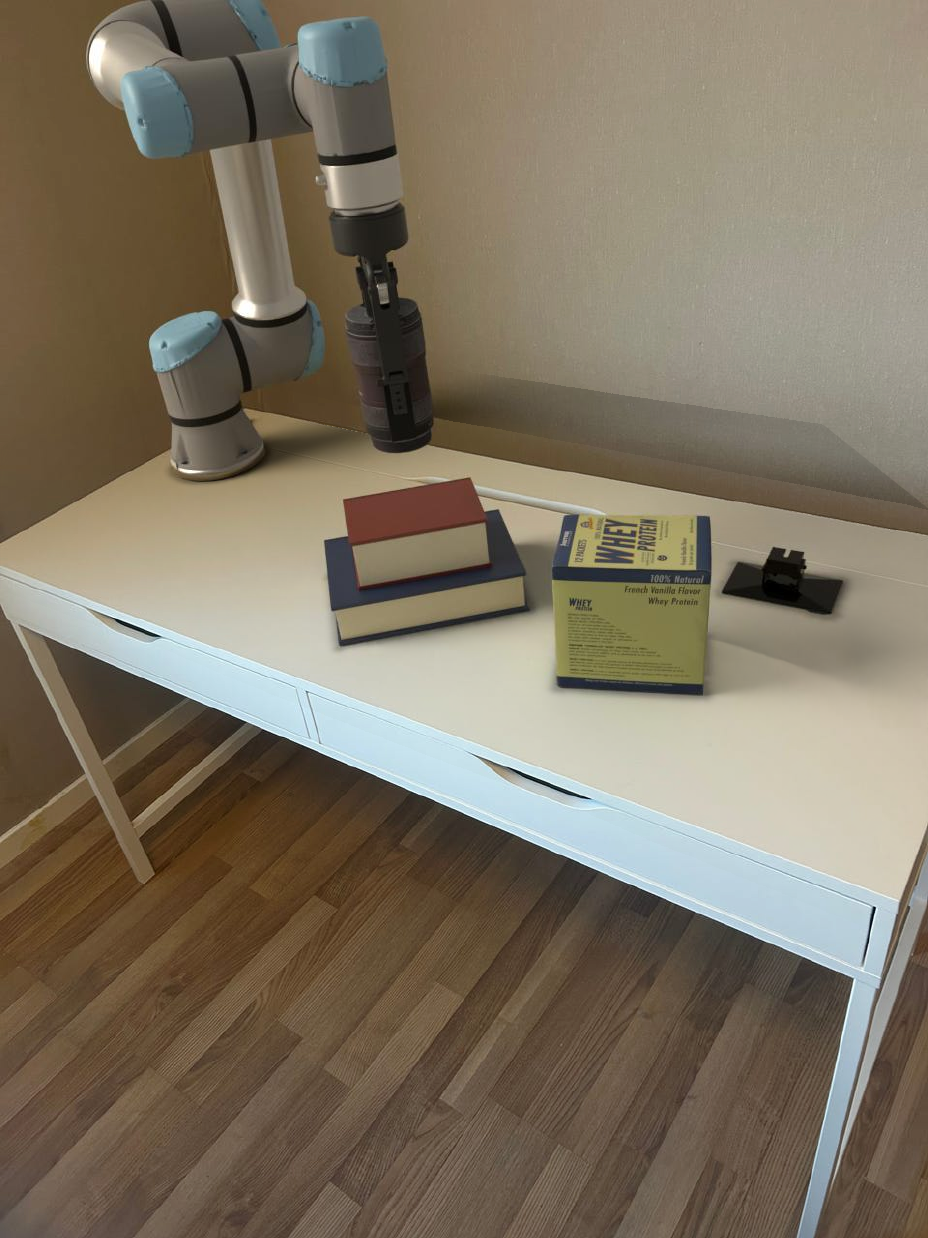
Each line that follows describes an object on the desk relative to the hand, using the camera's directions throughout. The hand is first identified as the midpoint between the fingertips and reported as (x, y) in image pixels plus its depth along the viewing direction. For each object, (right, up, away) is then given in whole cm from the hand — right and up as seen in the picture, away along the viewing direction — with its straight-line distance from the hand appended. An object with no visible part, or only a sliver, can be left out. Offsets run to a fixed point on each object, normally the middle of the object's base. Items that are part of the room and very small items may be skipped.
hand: (399, 422), depth 104 cm
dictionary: (+2, -14, +10) cm, 17 cm away
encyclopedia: (+2, -19, +13) cm, 23 cm away
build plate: (+45, -18, +6) cm, 49 cm away
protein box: (+26, -27, -2) cm, 37 cm away
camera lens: (0, -2, +1) cm, 2 cm away
